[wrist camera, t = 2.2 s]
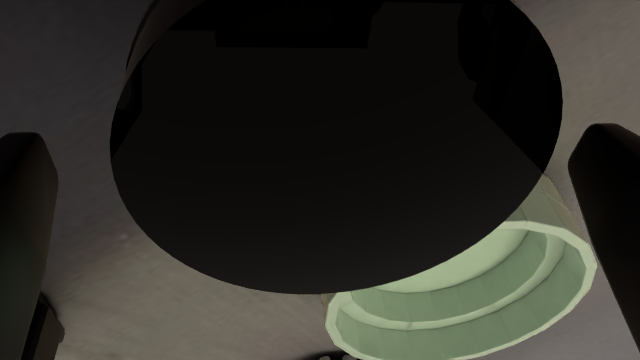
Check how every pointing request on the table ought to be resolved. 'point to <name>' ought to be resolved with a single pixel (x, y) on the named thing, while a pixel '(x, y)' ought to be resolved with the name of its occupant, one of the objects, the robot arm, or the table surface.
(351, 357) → the bottle
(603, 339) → the table surface
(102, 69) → the table surface
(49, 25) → the table surface
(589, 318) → the table surface
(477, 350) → the bowl
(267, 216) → the supplement container
